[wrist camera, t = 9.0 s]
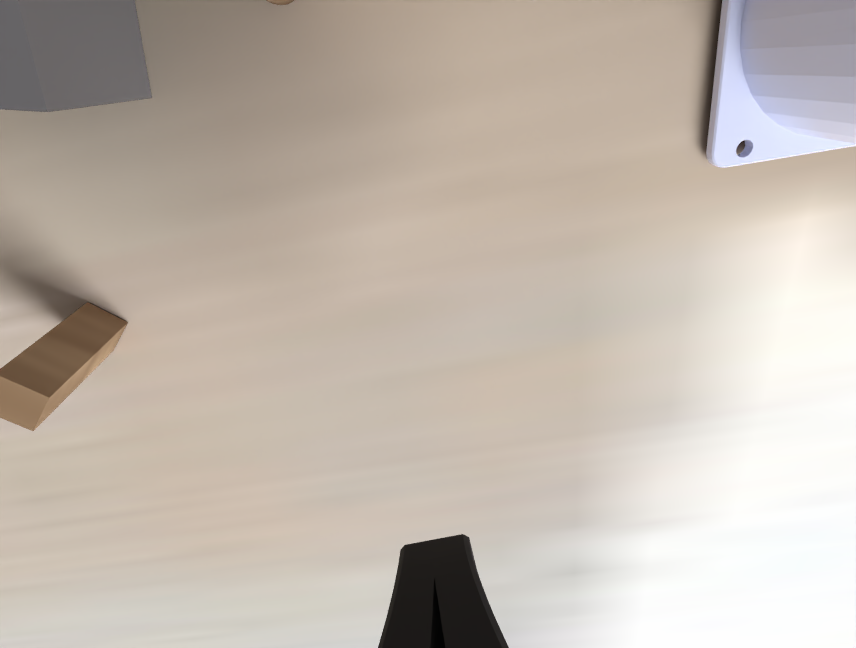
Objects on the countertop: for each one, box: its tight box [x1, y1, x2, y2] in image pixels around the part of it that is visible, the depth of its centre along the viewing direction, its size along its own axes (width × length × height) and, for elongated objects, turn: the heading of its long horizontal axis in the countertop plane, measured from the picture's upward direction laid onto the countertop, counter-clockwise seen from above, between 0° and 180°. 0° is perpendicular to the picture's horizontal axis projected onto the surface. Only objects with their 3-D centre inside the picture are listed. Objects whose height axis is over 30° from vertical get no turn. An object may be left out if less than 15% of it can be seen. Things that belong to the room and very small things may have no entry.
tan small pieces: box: [0, 0, 294, 431], centre depth 13 cm, size 18×1×4 cm, turn 144°
